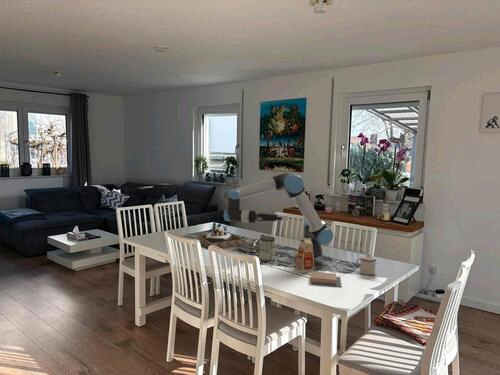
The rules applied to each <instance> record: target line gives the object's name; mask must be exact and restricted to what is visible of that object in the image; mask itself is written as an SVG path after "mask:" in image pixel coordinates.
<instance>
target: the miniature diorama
mask: <svg viewBox="0 0 500 375" xmlns="http://www.w3.org/2000/svg"><path fill="white" fill-rule="evenodd" d="M216 223H217V222H216V221H215V220H213V223H212V225H211V226H210V228H209V231H211V232H210V233H208V235H207V236H206V237H205V240H207V241H209V242H211V243H219V242H227V241H234V240H233V239H232V236H231V234H229V233H227V232H228V231H227V227H228V224H226V225H225V223H223V225H222V223H221V222H219V223H218V224H216Z"/></svg>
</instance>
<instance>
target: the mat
mask: <svg viewBox="0 0 500 375" xmlns="http://www.w3.org/2000/svg"><path fill="white" fill-rule="evenodd" d="M336 278H337V284H329V283H317V282H311V286H319V287H320V286H323V287H332V288H334V287H336V288H342V280H341V276H336Z"/></svg>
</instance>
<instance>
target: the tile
mask: <svg viewBox="0 0 500 375" xmlns="http://www.w3.org/2000/svg"><path fill="white" fill-rule="evenodd" d="M336 277H337V273H331V272H330V273H329V272H316V271H311V272H310V282H311V283H312V282H317V283H329V284H337V278H336Z"/></svg>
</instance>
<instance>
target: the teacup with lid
mask: <svg viewBox="0 0 500 375" xmlns="http://www.w3.org/2000/svg"><path fill="white" fill-rule="evenodd" d="M359 261H360V264H359ZM376 261H377V259H376V257H374V256H372V255H371V253H366V254H364V255H361V256H360V258H357V259H356V265H357V267H359V272H360V273H361V274H363V275H368V274H371V275H374V274H375V273H376Z"/></svg>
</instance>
